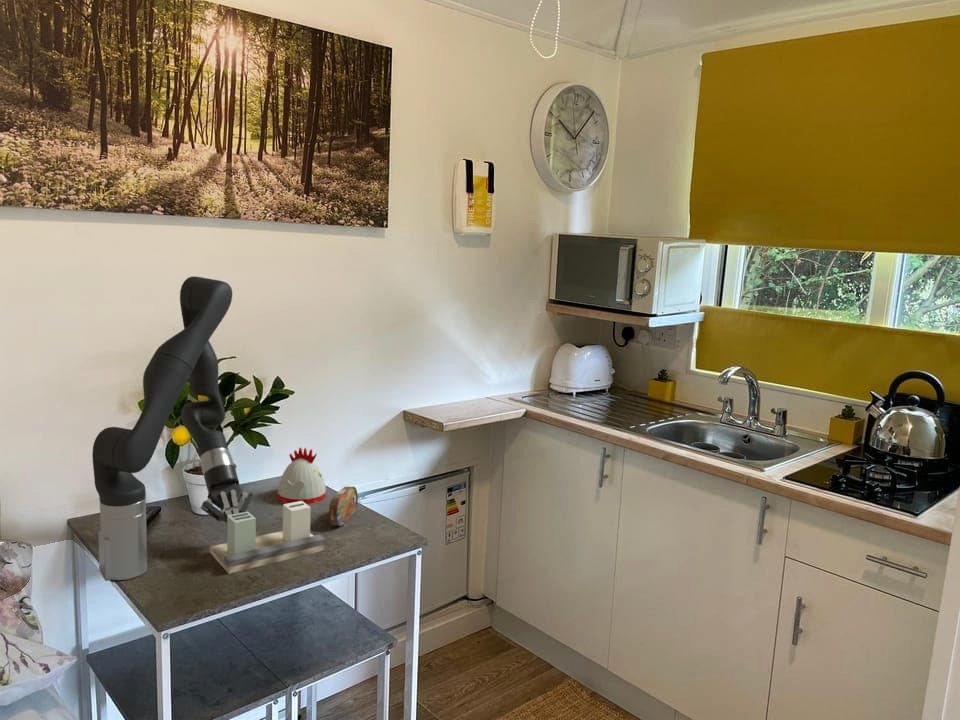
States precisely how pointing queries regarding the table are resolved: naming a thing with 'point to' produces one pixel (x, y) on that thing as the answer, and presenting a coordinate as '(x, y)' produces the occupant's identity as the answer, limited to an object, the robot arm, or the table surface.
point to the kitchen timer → (302, 480)
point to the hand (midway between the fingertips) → (236, 533)
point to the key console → (267, 551)
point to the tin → (343, 505)
